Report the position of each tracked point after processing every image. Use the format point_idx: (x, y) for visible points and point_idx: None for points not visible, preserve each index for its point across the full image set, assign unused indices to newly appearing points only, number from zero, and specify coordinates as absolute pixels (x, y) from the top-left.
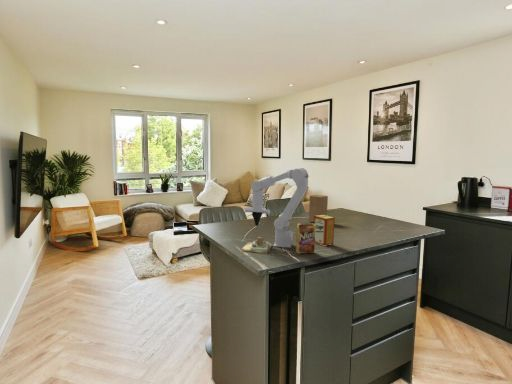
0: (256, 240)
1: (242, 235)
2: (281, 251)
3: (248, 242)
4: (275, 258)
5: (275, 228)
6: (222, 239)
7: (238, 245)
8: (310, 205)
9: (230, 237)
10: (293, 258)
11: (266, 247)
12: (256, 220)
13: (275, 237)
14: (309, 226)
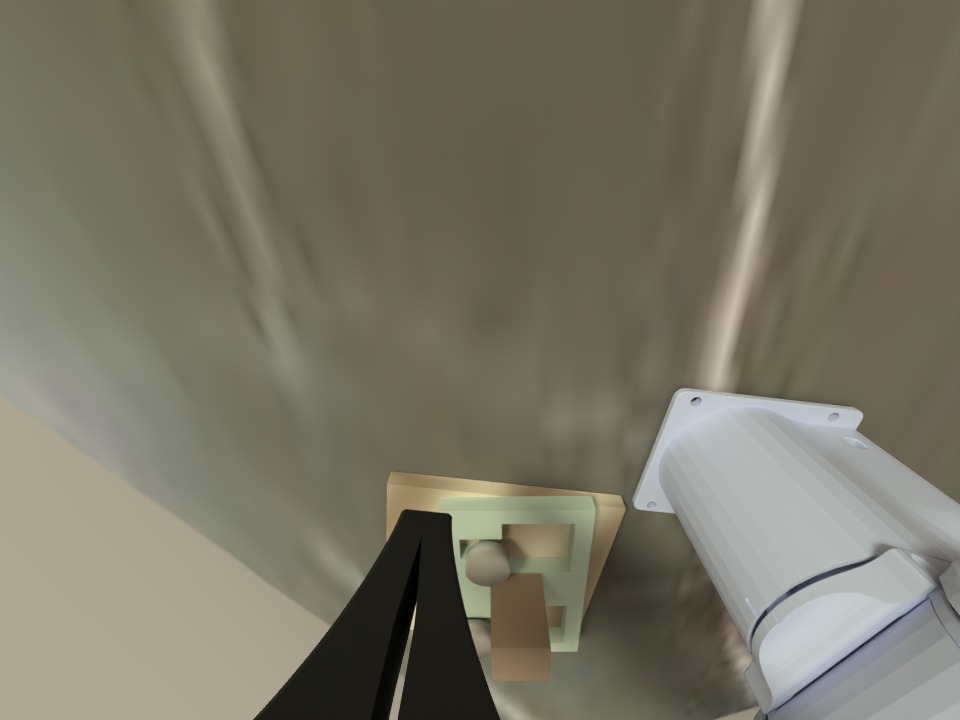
0: (476, 569)
1: (167, 92)
2: (684, 589)
3: (390, 491)
4: (622, 683)
5: (758, 644)
6: (62, 370)
7: (320, 518)
8: None
9: (82, 262)
10: (735, 674)
11: (573, 631)
12: (396, 665)
13: (691, 541)
14: None
